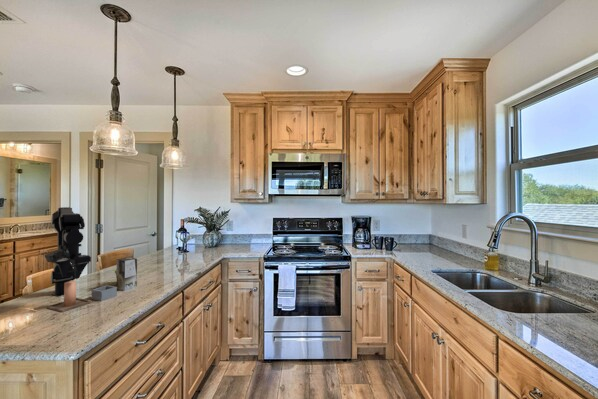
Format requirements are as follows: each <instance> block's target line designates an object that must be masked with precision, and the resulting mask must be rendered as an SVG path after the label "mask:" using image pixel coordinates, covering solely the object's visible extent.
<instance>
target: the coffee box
mask: <svg viewBox="0 0 598 399" xmlns="http://www.w3.org/2000/svg"><path fill="white" fill-rule="evenodd" d="M116 269H117V278H116V287H117V290H118V289H119V290H121V291H123V292H127V291H131V290H134V289H138V258H136V257H131V256H128V257H122V258H117V259H116Z"/></svg>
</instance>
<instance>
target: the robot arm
mask: <svg viewBox="0 0 598 399" xmlns="http://www.w3.org/2000/svg"><path fill="white" fill-rule="evenodd" d="M51 214H52V215H51V225H52V227H53V229H54V231H56V232H57V249H56V250H53V251H51V252H48V253H47V254H44V256H43V257H44V258H45V260H46V262H47V263H52V264H54V266H53V270H52V271H51V274H50V282H51V285H53V284H54V292H52V293H51V295H52V296H56V297H61V296H64V283H65V282H68V281H76V280H78V279H79V278H80V277H81V275H82V273H83V272H84V270H85V268H86V266H88V264H89V263H91V262H92V257H91V255H88V254H82V252H80V247H82V242H83V240H84V235H83V233H82V232H80V230H84V228H86V227H85V226H86V223H85V219H84V217H83V216H82V215H81V214H80V213H74V211H73V207H71V206H70V207H69V206H68V207H67V206H66V207H63V206H62V207H58V208H57V210H56V211H54V212H53V213H51Z"/></svg>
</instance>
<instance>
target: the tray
mask: <svg viewBox="0 0 598 399" xmlns="http://www.w3.org/2000/svg"><path fill="white" fill-rule="evenodd" d="M92 303H93V300H90V299H85V298H79V297H76V304H75V305H73V306H69V307H65V306H64V301H61V302H57V303H54V304H50V305H48V306H46V310H47V309H49V310H52V311H56V312H59V313H65V312H68V311H71V310H74V309H77V308H82V307H84V306H87V305H90V304H92Z"/></svg>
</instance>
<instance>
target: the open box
mask: <svg viewBox="0 0 598 399" xmlns="http://www.w3.org/2000/svg"><path fill="white" fill-rule="evenodd" d="M117 292H118V288H117V286H113V285H103V286H99V287H97V288H94V289H91V300H92V301H93V300H94V301H99V302H103V301H106V300H110V299H112V298H115V297H117V296H118V293H117Z"/></svg>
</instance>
